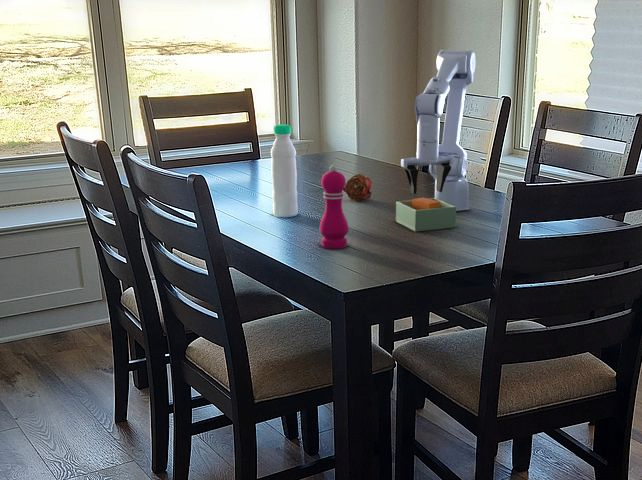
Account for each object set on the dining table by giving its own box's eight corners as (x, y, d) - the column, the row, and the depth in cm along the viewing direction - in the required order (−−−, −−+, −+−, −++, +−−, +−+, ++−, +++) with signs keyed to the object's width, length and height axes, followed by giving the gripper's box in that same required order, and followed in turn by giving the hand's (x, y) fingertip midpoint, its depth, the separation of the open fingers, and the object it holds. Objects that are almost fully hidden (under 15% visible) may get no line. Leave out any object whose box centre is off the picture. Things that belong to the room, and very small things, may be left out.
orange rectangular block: (422, 218, 237) (423, 197, 235) (439, 223, 232) (440, 201, 229) (411, 220, 235) (412, 199, 232) (428, 225, 229) (429, 203, 227)
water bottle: (301, 213, 245) (299, 123, 235) (291, 218, 239) (288, 127, 229) (279, 211, 247) (276, 122, 237) (269, 216, 241) (265, 126, 231)
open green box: (434, 217, 241) (435, 197, 239) (455, 227, 230) (456, 206, 228) (395, 221, 236) (396, 201, 234) (415, 231, 226) (415, 210, 224)
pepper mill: (319, 242, 216) (317, 162, 208) (347, 241, 216) (347, 162, 209) (320, 249, 209) (318, 167, 201) (349, 249, 210) (349, 167, 202)
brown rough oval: (360, 209, 256) (353, 206, 268) (382, 191, 256) (374, 189, 268) (343, 187, 254) (336, 185, 265) (365, 169, 254) (357, 167, 265)
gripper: (408, 144, 219) (407, 197, 224) (459, 141, 224) (457, 193, 229) (398, 140, 225) (397, 192, 230) (447, 138, 230) (445, 188, 235)
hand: (426, 192), depth 230 cm, fingers open, 7 cm apart
